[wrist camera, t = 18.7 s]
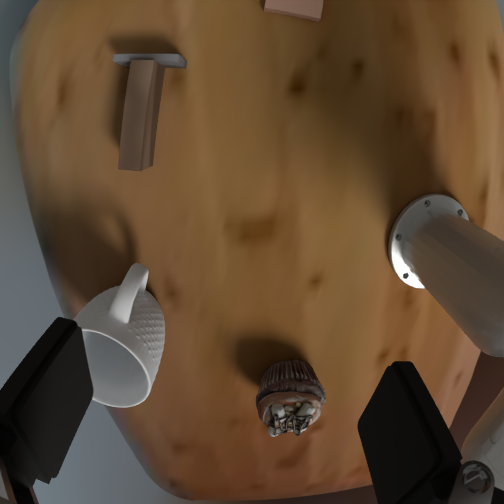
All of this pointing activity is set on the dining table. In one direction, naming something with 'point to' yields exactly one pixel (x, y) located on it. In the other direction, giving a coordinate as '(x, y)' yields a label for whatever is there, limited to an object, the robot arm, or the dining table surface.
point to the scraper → (142, 106)
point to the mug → (123, 340)
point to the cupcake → (289, 397)
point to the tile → (296, 8)
